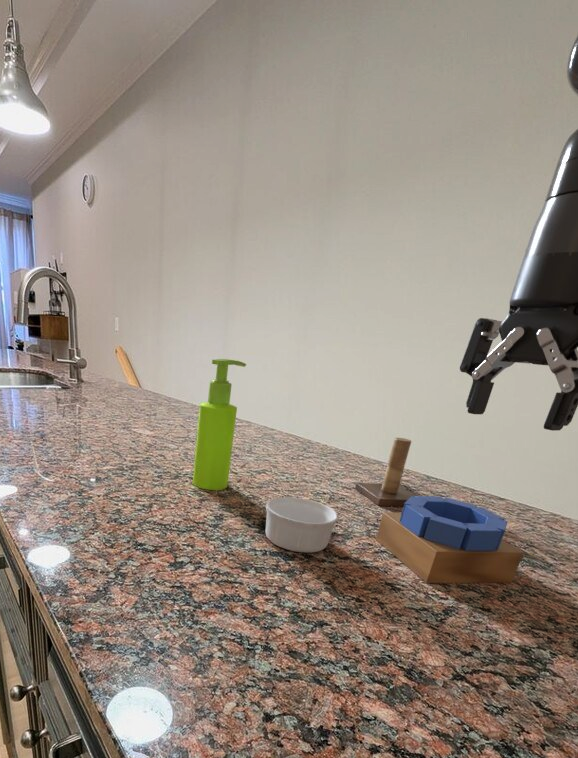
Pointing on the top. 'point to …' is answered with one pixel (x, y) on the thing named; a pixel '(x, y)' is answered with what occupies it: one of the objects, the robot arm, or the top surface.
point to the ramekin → (299, 524)
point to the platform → (446, 556)
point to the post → (390, 479)
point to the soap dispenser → (215, 432)
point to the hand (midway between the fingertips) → (510, 421)
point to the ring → (453, 523)
